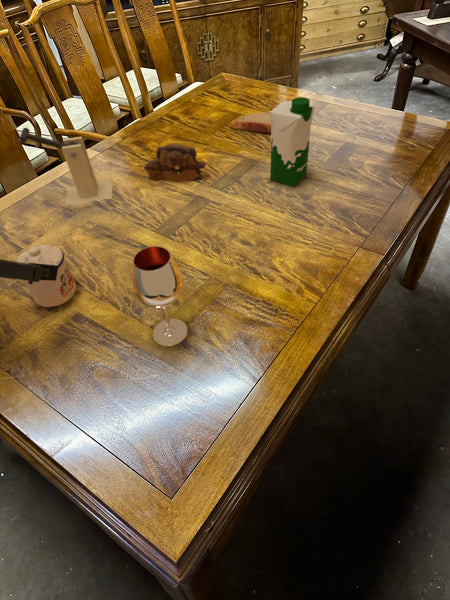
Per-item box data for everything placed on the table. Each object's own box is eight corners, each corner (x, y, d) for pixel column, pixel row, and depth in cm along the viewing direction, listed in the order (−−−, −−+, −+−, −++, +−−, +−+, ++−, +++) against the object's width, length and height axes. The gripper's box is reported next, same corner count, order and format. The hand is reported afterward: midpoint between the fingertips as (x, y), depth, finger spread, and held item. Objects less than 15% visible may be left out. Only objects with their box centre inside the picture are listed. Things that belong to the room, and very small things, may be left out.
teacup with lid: (75, 305, 83) (54, 261, 74) (29, 312, 82) (2, 268, 74) (81, 265, 91) (63, 221, 83) (39, 271, 91) (16, 227, 82)
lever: (19, 143, 95) (19, 134, 94) (22, 134, 98) (23, 124, 97) (79, 160, 100) (80, 151, 99) (80, 150, 104) (82, 142, 102)
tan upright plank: (66, 209, 107) (44, 155, 96) (68, 190, 113) (48, 137, 102) (113, 201, 108) (96, 147, 97) (113, 183, 114) (97, 130, 103)
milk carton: (295, 189, 106) (301, 110, 91) (264, 180, 110) (265, 102, 95) (311, 173, 111) (318, 95, 96) (281, 165, 114) (284, 89, 100)
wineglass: (170, 309, 80) (152, 234, 67) (201, 328, 77) (189, 253, 64) (139, 336, 76) (113, 262, 63) (170, 358, 73) (151, 284, 59)
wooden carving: (146, 187, 111) (138, 152, 104) (149, 178, 114) (141, 143, 107) (207, 185, 110) (204, 149, 103) (208, 176, 113) (205, 140, 106)
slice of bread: (229, 125, 134) (228, 113, 131) (276, 110, 139) (277, 99, 136) (258, 147, 123) (258, 134, 120) (309, 130, 128) (310, 118, 125)
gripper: (-158, 266, 60) (-30, 273, 81) (-25, 301, 53) (78, 299, 74) (-151, 214, 60) (-25, 235, 80) (-16, 243, 53) (85, 258, 73)
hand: (25, 266), depth 77 cm, fingers open, 13 cm apart
